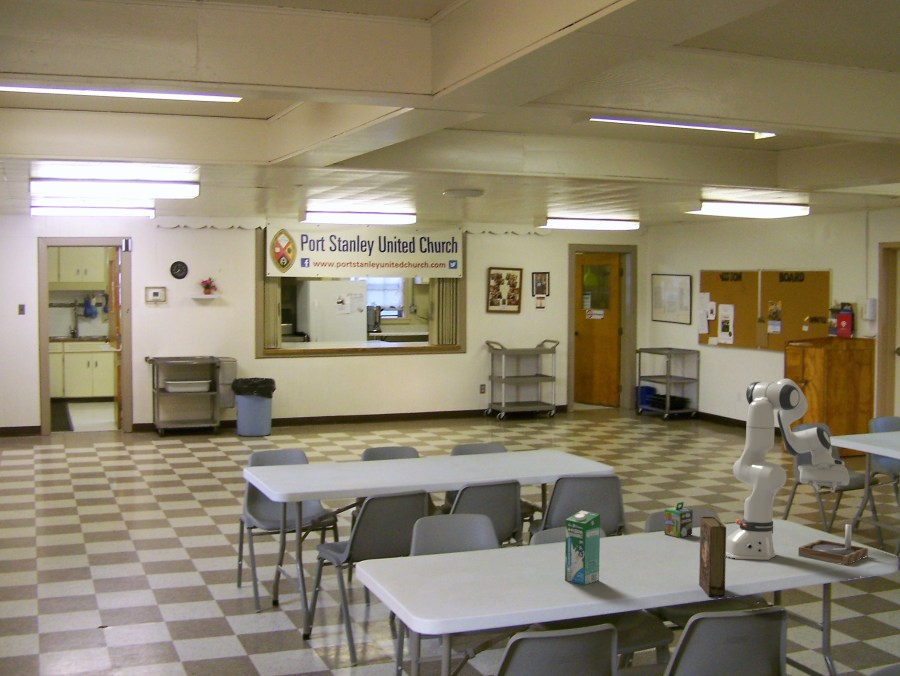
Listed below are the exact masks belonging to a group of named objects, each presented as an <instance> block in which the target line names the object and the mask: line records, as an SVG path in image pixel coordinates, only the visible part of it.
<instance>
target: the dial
mask: <svg viewBox="0 0 900 676" xmlns="http://www.w3.org/2000/svg"><path fill="white" fill-rule="evenodd" d="M852 527H853V525H852V524H848V523H846V524H845V531H844V532H845V533H844V544H845V547H843V546H838V545H815V546H813V547H812V549H814V550H819V551H825V552H830V553H835V554H840V555H847V554H850V553H852V552H854V550H853V549H851V545H852V531H853V530H852Z"/></svg>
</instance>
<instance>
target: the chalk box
mask: <svg viewBox="0 0 900 676" xmlns="http://www.w3.org/2000/svg"><path fill="white" fill-rule="evenodd" d="M684 503H685V502H684V501H681V502H677V504H676V506H672V507H669V508H665V509H664V529H663V531H664V533H665V534H664V533H663V534H664V535H666V534H668V535H667V536H670V535H671V536H670V537H674V536H676V538H678V537H681V538H685V537H684V536H686V537H689V536H688V535H691V534H692V535H693V519H694V518H693V517H694V516H693V513H694V510H693V509H689V508H685V507H684ZM692 535H691V536H692Z"/></svg>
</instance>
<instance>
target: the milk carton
mask: <svg viewBox="0 0 900 676" xmlns="http://www.w3.org/2000/svg"><path fill="white" fill-rule="evenodd" d="M600 540H601V513H597V512H591V511H586V510H579V511H578V512H575V513H574V514H573V515H571V516H569V517H568V518H566V519H565V549H564V550H565V553H564V554H565V555H564V556H565V559H564V560H565V562H564V581H566V580H567V581H566V582H570V581H571V582H570V583H574V582H575V584H577V583H578V585H581V584H582V586H586V584H587V585H589V583H590V584H592V582H593V583H595V582H594V581H596V582H598V581H597V580H599V581H600V553H601V552H600V545H601V543H600V542H601V541H600Z"/></svg>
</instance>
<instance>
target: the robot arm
mask: <svg viewBox="0 0 900 676" xmlns="http://www.w3.org/2000/svg"><path fill="white" fill-rule="evenodd" d="M745 397H746V401H747V402H748V410H747V414H746V430H745V434H746V435H745V444H744V448H743V451H742V454H741V455H740V457H739V458H737V460H736V461H734V463H733V466H732V474H733V476H734V478H735V479H736V480H738V481H739V482H741V483H743V484H746V485H748V486H749V485H750V486H752V487H753V489H752V491H751V495H749V496H748V497H746V499H745V500H744V509H743V512H744V514H743V515H744V516H743V519H742V520H740V519H739V518H738V519H737V518H736V519H735V521H734V522H735V524H736V525H739V527H738V528H737V529H736V530H735V531H734V532H732V533H730V535H728V536H726V556H727V557H726V558H728V557H730V558H729V559H732V558H735V559H734V560H762V561H764V560H767V561H768V560H771V558H774V557H775V556H776V552H775V548H774V541H773V534H774V521H773V511H774V510H773V509H774V508H773V507H774V500H775V497H776V495H777V493H778V492H779V490H780V489H782V488H783V487H784V486H785V484H786V482H787V471H786V470H785V469H784V468H783V467H782V466H780V465H779V464H777V463H774V462H770V461H766V456H767V453H768V452H769V451H771V450H772V449H773V448H774V446H775V425H776V424H775V412H774V410H775V411H776V410H777V413H776V414H777V415H776V416H777V417H776V418H777V422H778V426H779V429H780V433H781V437H782V440H783V445H784V449H785V451H786V453H788V454H789V455H791V456H794V457H795V456H799V455H802V454H805V453H809V452H810V455H811V464H809V463H808V464H805V463H803V464H802V463H801V464H800V465H798V467H797V468H798V472H799V482H800V483H801V484H807V485H813V487H814V488H815V490H816V492H817V493H820V492H821V486H819V485H826V486H828V485H829V486H830V493H832V494H833V493H836V488H837V487H838V486H849V485H850V481H851V480H850V473H849V471H848V469H847V468H846V467H845V465H846V464H845V463H846V462H845V461H843V460H841V459H836V458H834V457H833V456H832V453H833V449H832V443H831V438H830V435H829V433H828V432H827V430H825V429H823V428H822V427H819V426H816V427H812V428H807V429H804V430H799V431H792V429H791V426H790V425H791V424H793V423H794V422H796V421H798V420H799V419H801V418H803V417H804V415H806V412H807V411H808V406H809V405H808V401H807V398H806V396H805V394H804V393H803V391H802V389H801V388H800V387H799V386H798V384H797V383H796V382H795V381H794V380H792V379H790V378H781V379H780V380H778V381H776V382H773V381H754V382H752V383H750V384H749V385H748V386H747V388H746V393H745ZM831 485H832V487H831Z"/></svg>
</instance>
